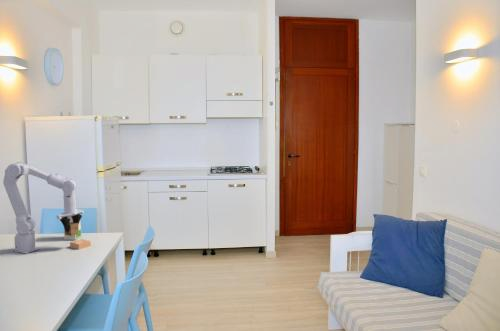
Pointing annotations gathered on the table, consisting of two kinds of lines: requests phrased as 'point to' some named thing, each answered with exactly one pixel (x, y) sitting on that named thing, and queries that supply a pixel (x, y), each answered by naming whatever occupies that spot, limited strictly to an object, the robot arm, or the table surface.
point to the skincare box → (73, 235)
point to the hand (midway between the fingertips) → (71, 230)
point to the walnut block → (72, 229)
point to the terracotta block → (80, 244)
